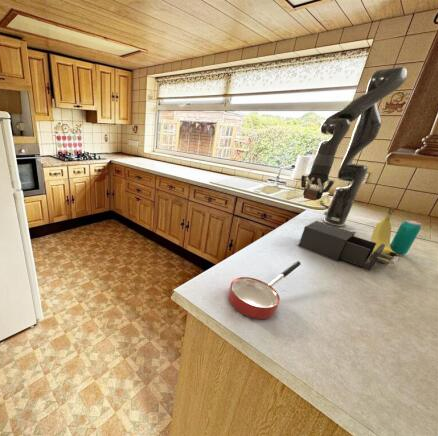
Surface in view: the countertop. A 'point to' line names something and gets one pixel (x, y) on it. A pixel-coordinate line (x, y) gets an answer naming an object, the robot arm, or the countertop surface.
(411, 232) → the beverage can
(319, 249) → the block
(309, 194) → the block
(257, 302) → the frying pan
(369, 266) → the basket
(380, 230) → the banana
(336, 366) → the countertop surface
